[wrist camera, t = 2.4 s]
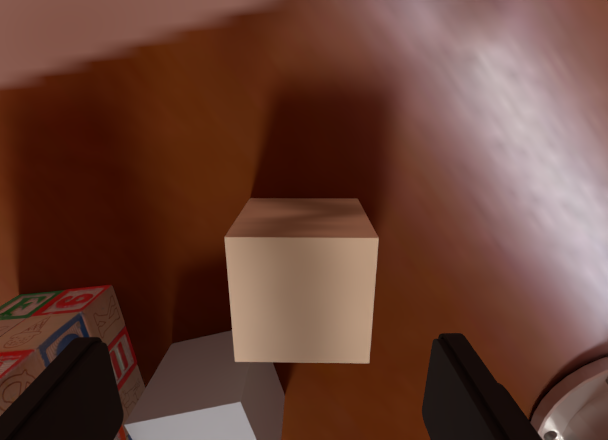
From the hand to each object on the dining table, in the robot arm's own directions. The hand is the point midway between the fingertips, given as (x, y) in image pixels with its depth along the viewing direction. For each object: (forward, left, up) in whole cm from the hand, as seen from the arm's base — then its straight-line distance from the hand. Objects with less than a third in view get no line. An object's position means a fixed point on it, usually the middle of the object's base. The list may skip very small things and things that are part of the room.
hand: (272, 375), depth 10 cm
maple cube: (-1, 0, -10) cm, 10 cm away
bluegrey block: (+4, +9, -10) cm, 15 cm away
